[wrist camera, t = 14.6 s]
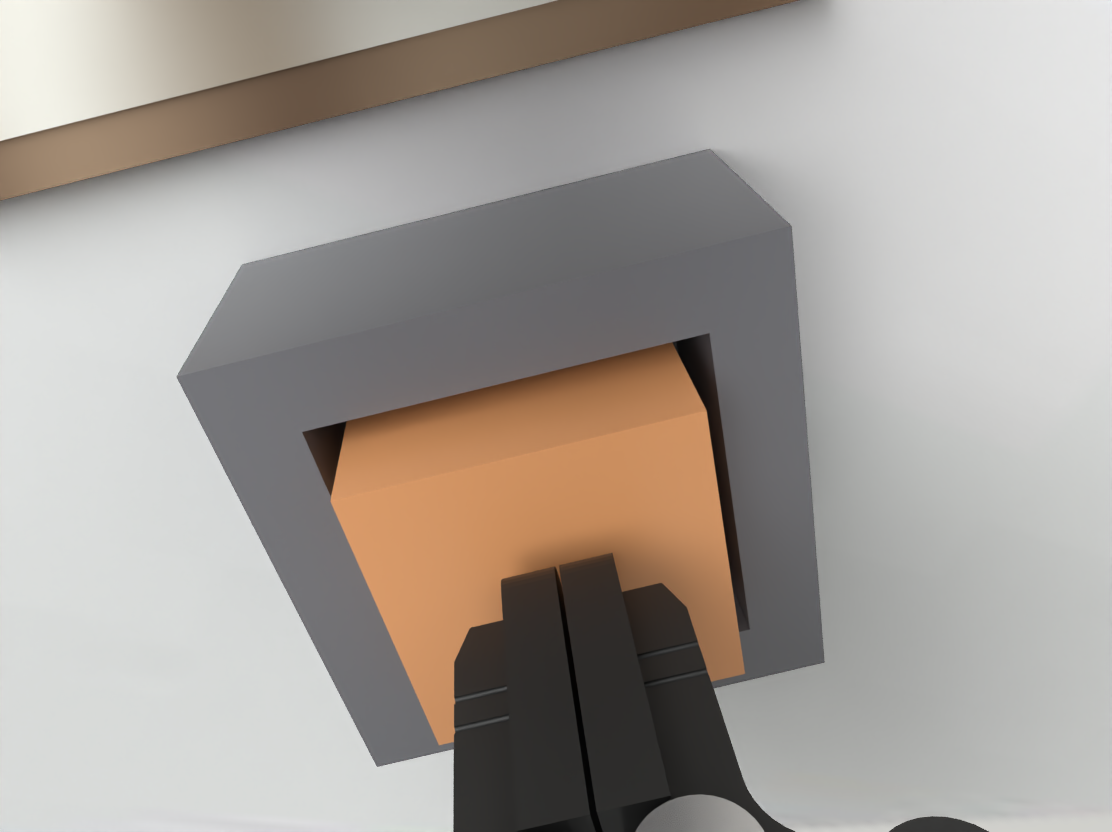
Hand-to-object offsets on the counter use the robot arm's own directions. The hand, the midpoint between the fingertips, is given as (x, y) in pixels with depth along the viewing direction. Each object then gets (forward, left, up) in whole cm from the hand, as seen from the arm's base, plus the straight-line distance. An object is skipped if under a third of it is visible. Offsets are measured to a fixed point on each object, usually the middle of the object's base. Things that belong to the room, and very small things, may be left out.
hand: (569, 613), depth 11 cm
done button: (0, 0, -4) cm, 4 cm away
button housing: (0, 0, -6) cm, 6 cm away
